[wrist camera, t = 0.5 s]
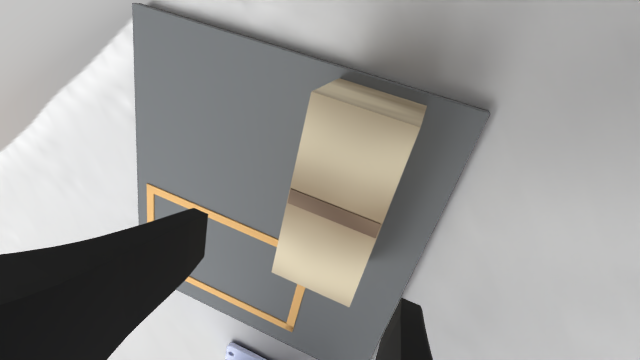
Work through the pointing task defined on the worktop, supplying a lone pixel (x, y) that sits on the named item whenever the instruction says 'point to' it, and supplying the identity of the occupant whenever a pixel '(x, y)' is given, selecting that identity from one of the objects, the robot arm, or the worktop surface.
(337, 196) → the cream block
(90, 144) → the worktop surface
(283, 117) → the rubber mat
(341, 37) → the worktop surface
